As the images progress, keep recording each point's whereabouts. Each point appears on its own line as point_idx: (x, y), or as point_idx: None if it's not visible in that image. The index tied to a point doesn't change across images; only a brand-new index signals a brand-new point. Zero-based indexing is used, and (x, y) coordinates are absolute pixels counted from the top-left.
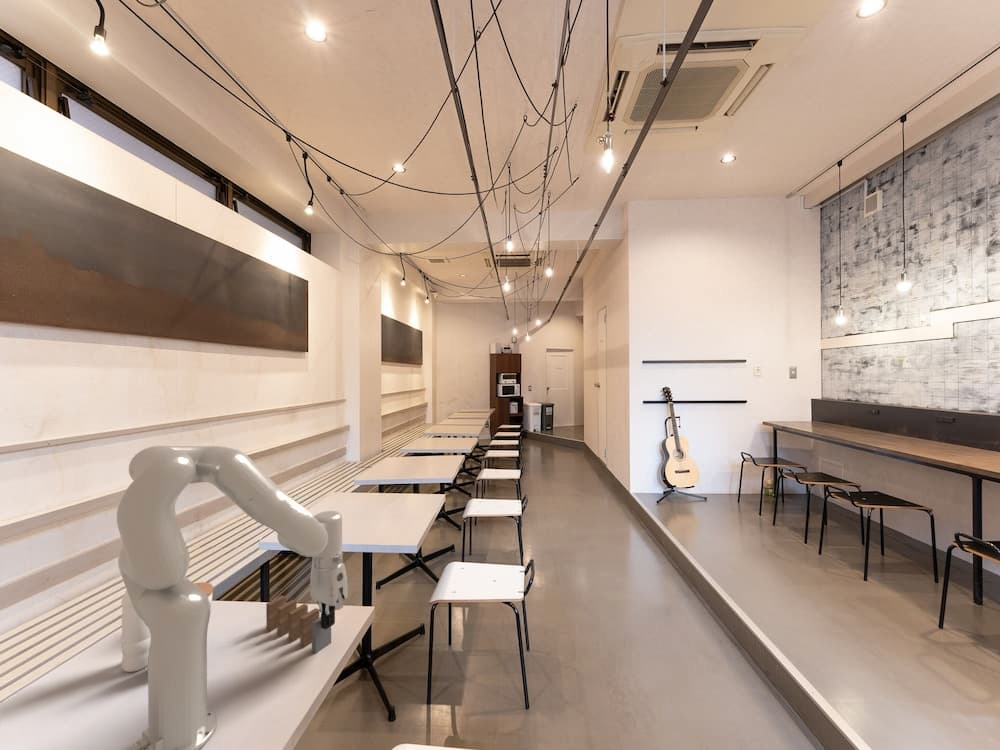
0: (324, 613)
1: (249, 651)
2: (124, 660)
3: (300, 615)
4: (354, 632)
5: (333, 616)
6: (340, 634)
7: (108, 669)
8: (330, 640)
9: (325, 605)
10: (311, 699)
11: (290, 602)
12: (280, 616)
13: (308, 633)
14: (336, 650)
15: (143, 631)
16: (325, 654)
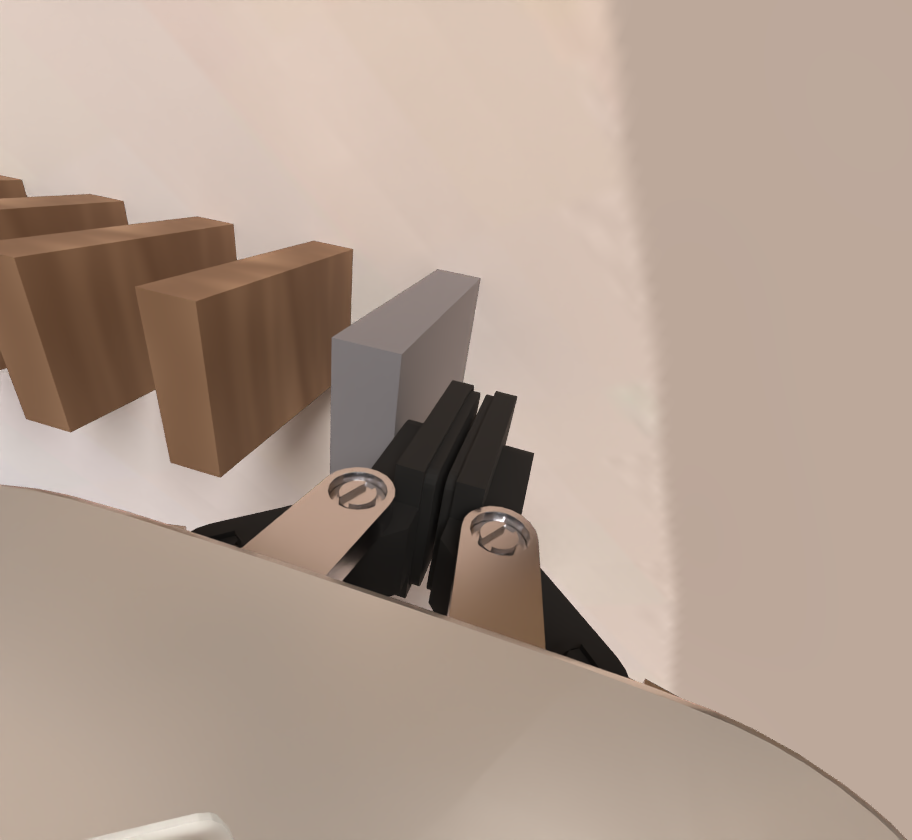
0: (416, 575)
1: (141, 447)
2: None
3: (104, 329)
4: (594, 69)
5: (523, 501)
6: (479, 154)
7: None
8: (474, 291)
9: (344, 581)
10: (670, 656)
11: None
12: (5, 367)
13: (309, 369)
14: (576, 342)
15: None
16: (525, 393)
